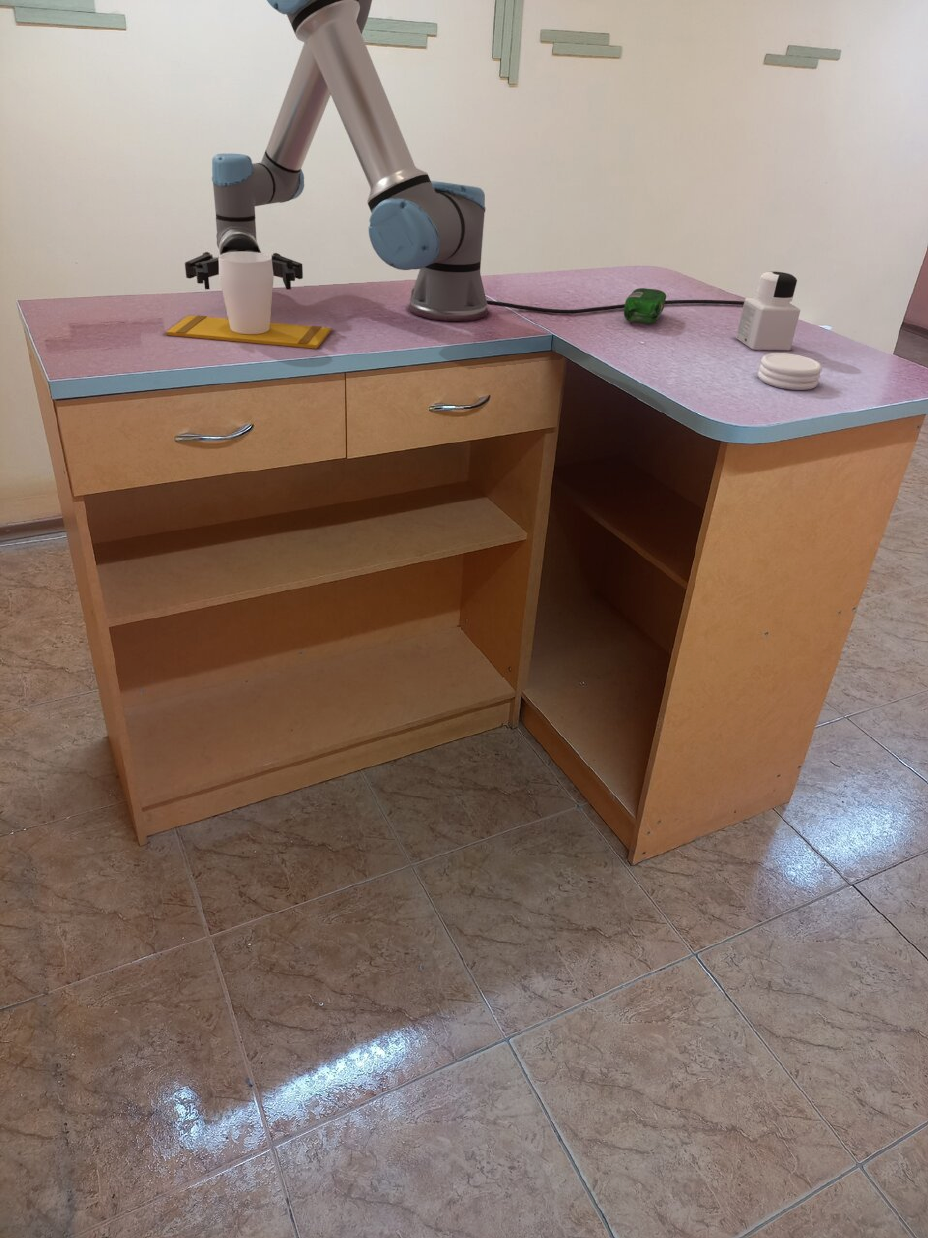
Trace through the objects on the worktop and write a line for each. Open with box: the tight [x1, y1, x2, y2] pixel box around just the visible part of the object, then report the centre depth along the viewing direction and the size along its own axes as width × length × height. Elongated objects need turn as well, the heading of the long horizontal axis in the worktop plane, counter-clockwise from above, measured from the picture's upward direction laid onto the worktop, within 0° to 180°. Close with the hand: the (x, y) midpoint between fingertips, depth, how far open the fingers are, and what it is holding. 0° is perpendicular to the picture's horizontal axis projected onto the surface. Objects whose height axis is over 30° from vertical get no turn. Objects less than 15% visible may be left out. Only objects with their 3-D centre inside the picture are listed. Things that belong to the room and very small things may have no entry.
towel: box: [165, 314, 332, 350], centre depth 156 cm, size 26×11×1 cm, turn 85°
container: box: [736, 271, 801, 351], centre depth 168 cm, size 8×8×13 cm
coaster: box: [757, 352, 823, 391], centre depth 152 cm, size 10×10×4 cm
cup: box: [218, 251, 275, 335], centre depth 153 cm, size 9×9×12 cm
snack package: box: [623, 287, 667, 325], centre depth 180 cm, size 7×16×5 cm, turn 161°
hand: (247, 281), depth 152 cm, fingers open, 13 cm apart
